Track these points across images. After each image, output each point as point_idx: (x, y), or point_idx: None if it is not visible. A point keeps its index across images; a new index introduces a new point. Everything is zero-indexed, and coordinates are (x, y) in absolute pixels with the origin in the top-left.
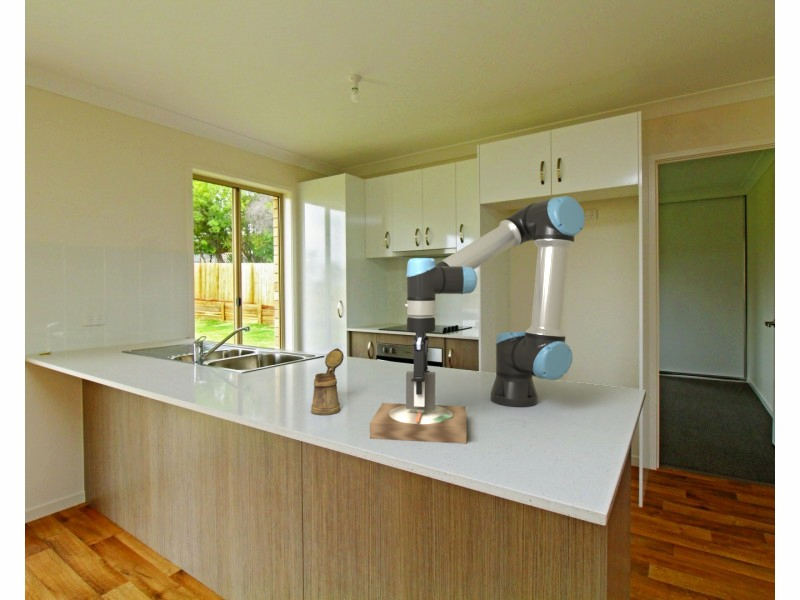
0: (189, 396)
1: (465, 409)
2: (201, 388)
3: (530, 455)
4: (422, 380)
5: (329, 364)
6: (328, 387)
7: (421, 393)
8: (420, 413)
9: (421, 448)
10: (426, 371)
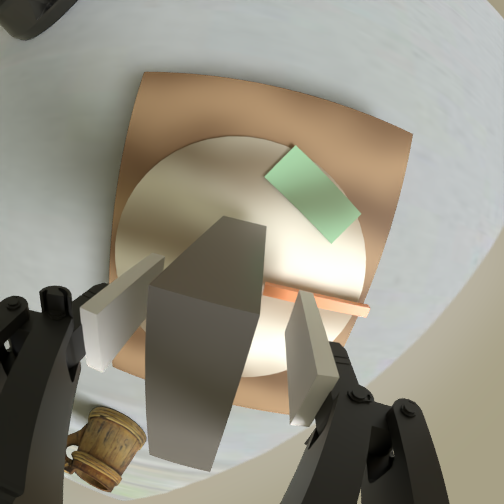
0: (113, 495)
1: (184, 74)
2: (84, 482)
3: (446, 37)
4: (412, 405)
5: None
6: (115, 468)
7: (343, 348)
8: (291, 292)
9: (399, 277)
10: (68, 325)
